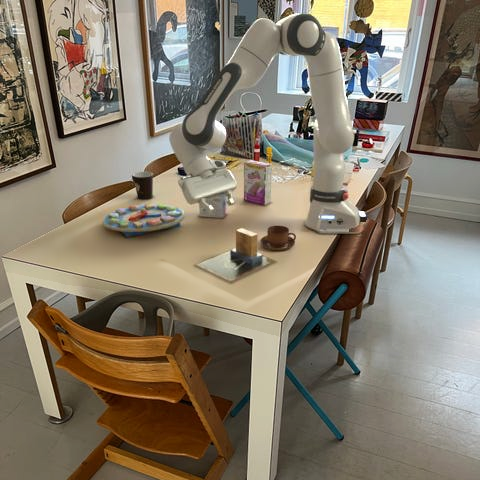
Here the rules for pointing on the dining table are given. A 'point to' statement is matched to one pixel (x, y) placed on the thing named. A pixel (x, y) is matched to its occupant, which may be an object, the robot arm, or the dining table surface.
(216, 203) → the ink cartridge box
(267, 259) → the slate board
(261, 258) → the eraser
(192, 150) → the robot arm
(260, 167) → the candy bar box
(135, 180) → the coffee mug
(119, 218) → the shape sorting clock
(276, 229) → the cup and saucer
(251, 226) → the dining table surface
